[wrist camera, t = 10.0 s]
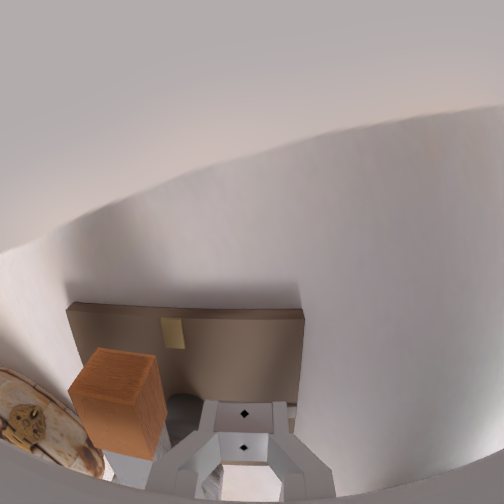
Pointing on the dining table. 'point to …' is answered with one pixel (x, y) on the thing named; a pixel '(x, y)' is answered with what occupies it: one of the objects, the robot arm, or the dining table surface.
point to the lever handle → (128, 416)
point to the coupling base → (202, 354)
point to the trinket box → (45, 426)
